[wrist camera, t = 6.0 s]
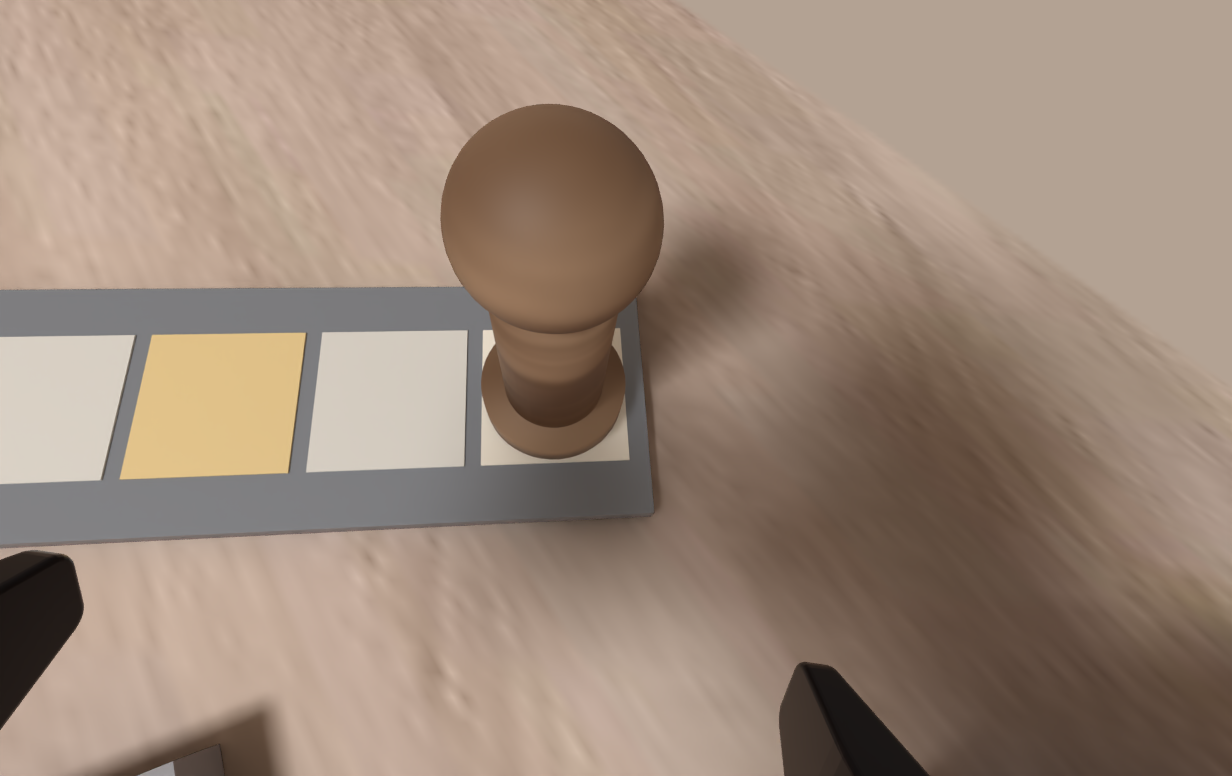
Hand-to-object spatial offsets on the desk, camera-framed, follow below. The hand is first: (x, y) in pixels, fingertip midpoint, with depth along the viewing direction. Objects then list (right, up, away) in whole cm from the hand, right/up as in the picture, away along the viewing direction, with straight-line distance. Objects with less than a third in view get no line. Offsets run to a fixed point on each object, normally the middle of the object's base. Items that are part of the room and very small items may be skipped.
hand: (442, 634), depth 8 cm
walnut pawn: (0, +3, +15) cm, 15 cm away
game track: (-9, +2, +15) cm, 17 cm away
